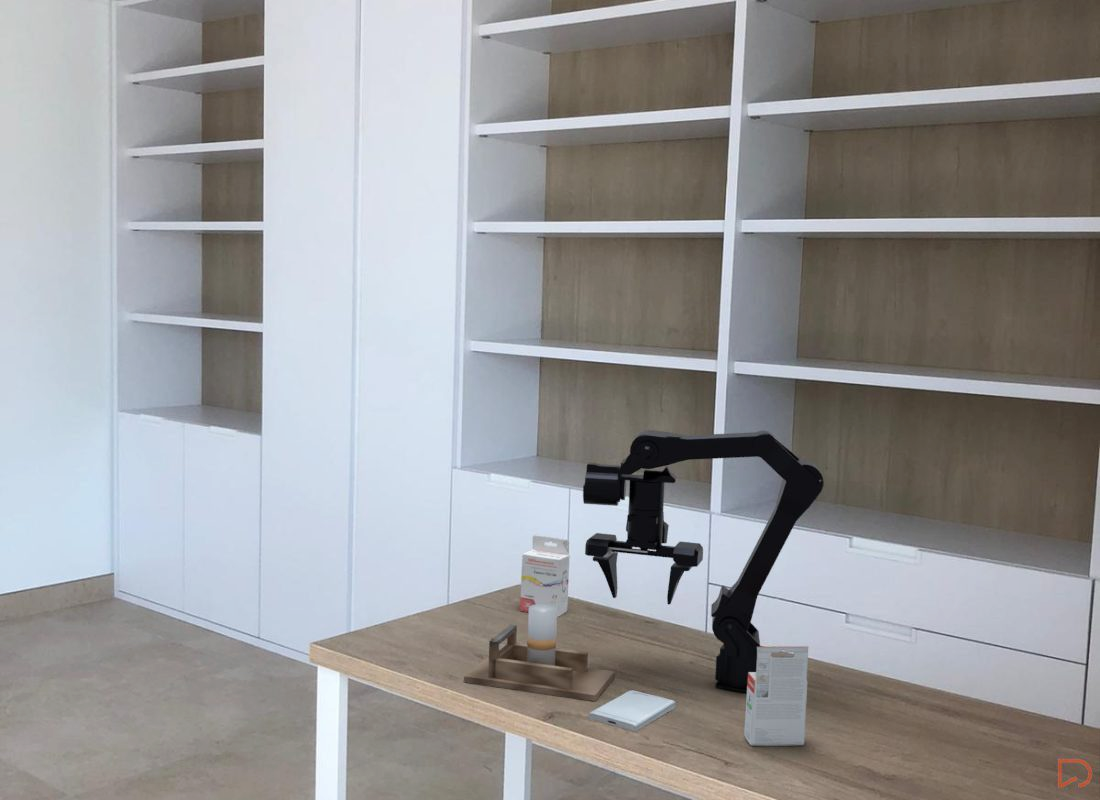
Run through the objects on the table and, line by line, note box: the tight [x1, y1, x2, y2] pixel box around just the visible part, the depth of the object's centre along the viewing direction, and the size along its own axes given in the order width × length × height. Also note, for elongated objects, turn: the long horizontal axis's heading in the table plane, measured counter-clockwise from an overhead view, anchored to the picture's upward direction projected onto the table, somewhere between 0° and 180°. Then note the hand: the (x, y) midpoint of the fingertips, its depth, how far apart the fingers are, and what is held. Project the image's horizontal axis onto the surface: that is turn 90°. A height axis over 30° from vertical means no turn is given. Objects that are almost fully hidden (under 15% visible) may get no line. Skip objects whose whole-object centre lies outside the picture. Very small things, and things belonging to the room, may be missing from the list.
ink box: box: [743, 646, 809, 747], centre depth 163 cm, size 4×8×15 cm, turn 96°
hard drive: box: [587, 689, 676, 732], centre depth 173 cm, size 2×8×12 cm
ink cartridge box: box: [519, 534, 571, 618], centre depth 225 cm, size 9×5×15 cm, turn 66°
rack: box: [463, 624, 615, 702], centre depth 185 cm, size 22×12×7 cm, turn 72°
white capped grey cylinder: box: [526, 604, 558, 666], centre depth 185 cm, size 5×5×11 cm
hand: (641, 600), depth 188 cm, fingers open, 9 cm apart
